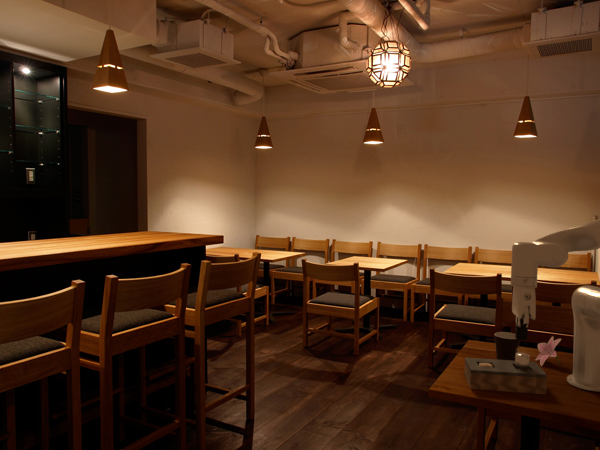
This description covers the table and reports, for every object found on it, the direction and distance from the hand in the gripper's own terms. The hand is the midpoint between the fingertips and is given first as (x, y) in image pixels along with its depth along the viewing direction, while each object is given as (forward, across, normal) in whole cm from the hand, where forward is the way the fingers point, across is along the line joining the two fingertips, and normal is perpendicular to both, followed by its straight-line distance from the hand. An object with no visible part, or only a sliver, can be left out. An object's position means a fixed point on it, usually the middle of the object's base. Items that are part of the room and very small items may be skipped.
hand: (521, 339), depth 151 cm
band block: (+15, 0, +5) cm, 16 cm away
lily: (+15, +25, -16) cm, 33 cm away
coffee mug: (+15, +23, -2) cm, 28 cm away
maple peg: (+15, 0, +10) cm, 18 cm away
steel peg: (+11, 0, -1) cm, 11 cm away
